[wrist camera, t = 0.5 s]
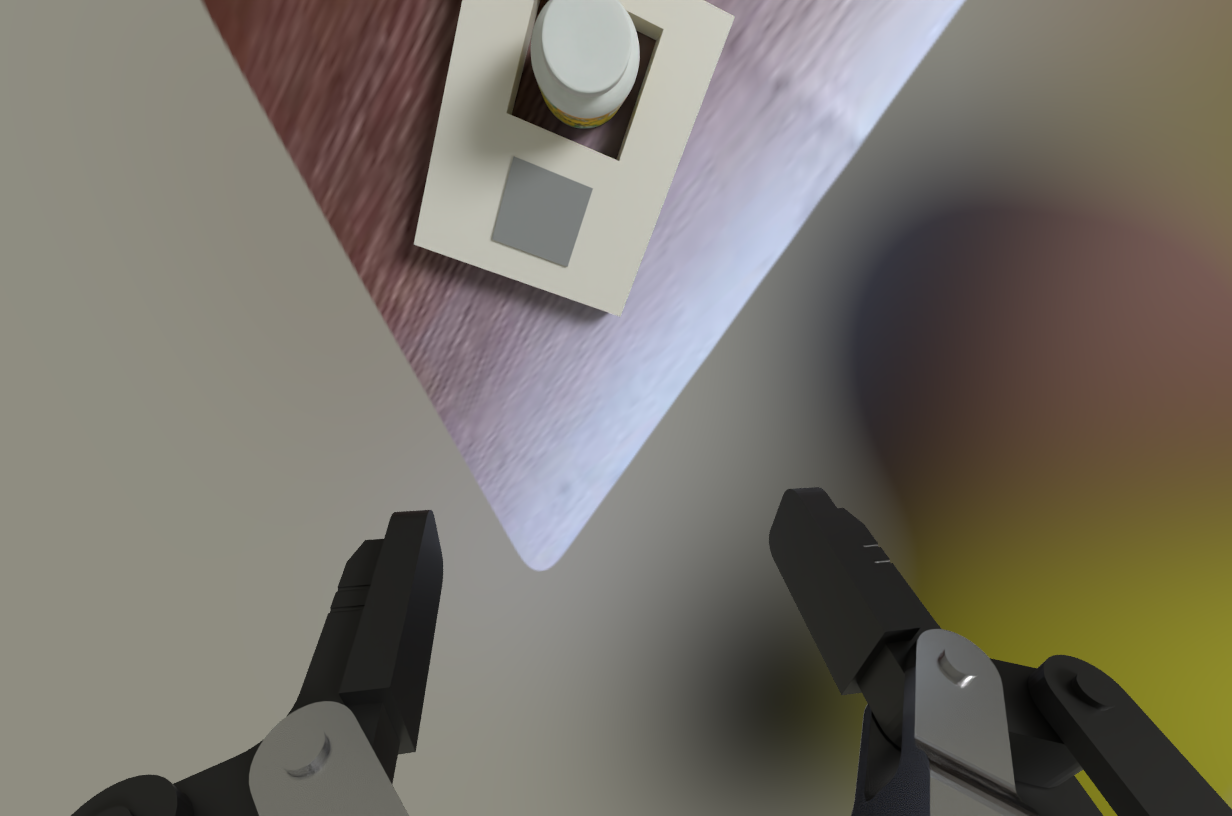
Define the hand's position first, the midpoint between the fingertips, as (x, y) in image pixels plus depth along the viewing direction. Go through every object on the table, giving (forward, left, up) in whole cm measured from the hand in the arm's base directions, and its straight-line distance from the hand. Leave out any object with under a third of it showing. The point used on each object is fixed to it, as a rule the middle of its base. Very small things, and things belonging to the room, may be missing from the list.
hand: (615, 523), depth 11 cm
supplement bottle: (-12, -4, -27) cm, 30 cm away
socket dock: (-8, -4, -27) cm, 28 cm away
